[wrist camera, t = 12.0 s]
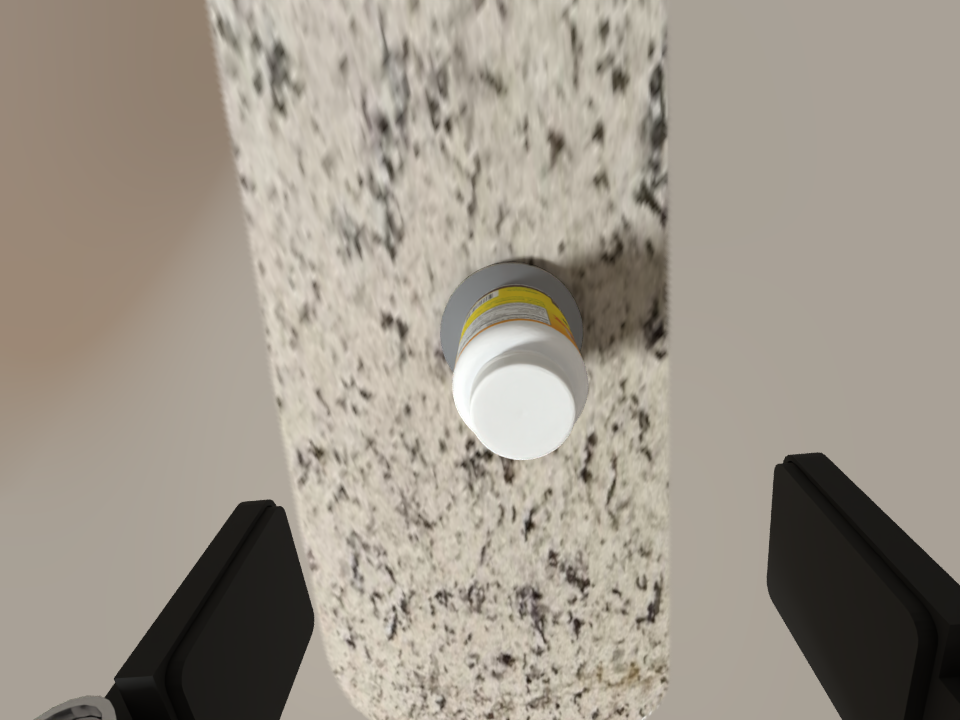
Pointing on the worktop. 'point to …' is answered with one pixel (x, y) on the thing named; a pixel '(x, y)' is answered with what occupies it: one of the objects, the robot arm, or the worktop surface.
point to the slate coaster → (495, 278)
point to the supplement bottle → (519, 373)
